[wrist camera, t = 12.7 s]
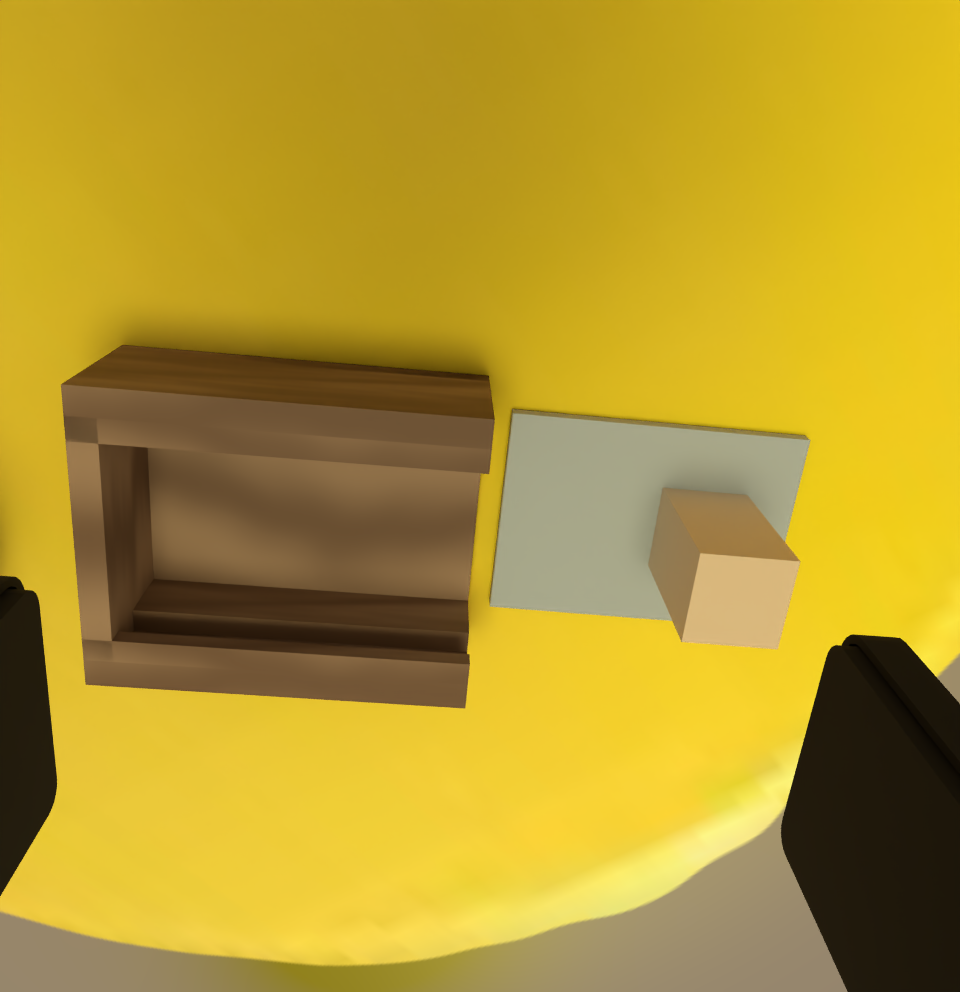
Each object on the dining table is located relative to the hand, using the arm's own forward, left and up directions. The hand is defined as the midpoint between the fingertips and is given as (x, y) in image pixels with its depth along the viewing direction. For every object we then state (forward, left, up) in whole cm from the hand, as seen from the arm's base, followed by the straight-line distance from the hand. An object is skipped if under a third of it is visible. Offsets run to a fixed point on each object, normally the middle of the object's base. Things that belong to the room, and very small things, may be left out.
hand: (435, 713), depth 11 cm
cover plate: (+10, +10, -31) cm, 34 cm away
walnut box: (+10, -6, -30) cm, 32 cm away
